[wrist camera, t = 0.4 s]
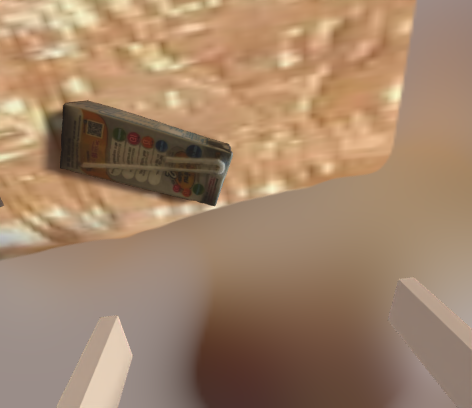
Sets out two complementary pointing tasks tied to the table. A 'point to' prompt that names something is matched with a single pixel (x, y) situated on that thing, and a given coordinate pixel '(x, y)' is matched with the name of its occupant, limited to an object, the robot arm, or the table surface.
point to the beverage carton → (142, 152)
